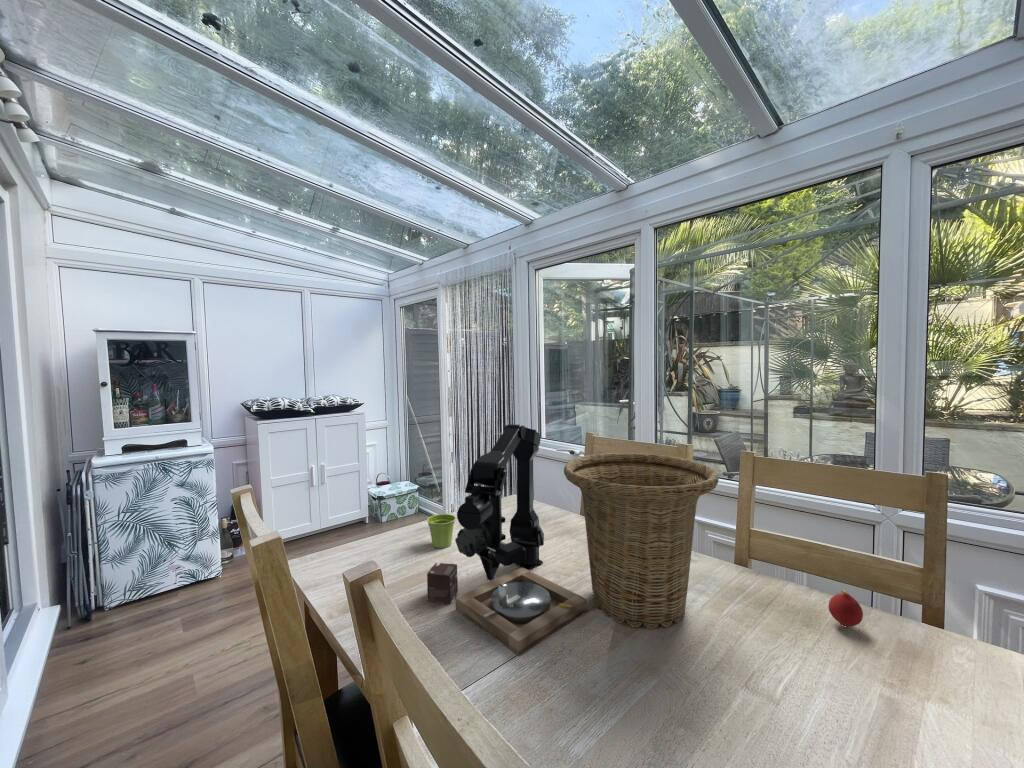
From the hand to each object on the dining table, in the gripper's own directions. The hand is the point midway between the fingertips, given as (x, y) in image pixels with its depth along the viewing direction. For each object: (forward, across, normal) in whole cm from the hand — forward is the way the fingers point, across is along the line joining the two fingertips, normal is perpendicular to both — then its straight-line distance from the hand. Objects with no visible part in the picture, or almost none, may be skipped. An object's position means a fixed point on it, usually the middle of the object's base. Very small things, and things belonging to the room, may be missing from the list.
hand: (490, 579), depth 98 cm
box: (+8, -13, -5) cm, 16 cm away
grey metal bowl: (+7, +5, +5) cm, 10 cm away
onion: (+8, +58, +52) cm, 78 cm away
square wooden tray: (+8, +5, +5) cm, 11 cm away
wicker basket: (+8, +22, +28) cm, 37 cm away
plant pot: (+8, -40, +12) cm, 43 cm away
